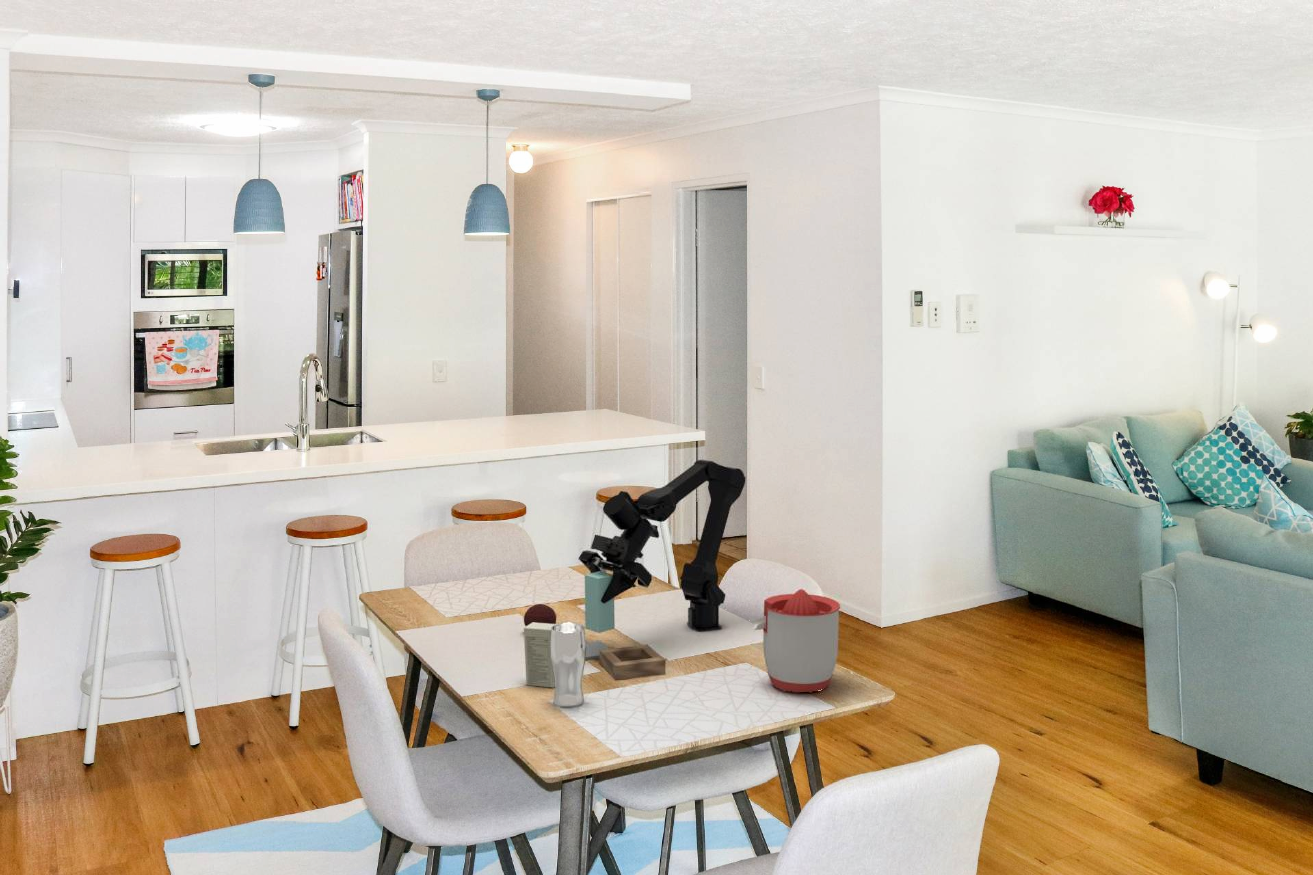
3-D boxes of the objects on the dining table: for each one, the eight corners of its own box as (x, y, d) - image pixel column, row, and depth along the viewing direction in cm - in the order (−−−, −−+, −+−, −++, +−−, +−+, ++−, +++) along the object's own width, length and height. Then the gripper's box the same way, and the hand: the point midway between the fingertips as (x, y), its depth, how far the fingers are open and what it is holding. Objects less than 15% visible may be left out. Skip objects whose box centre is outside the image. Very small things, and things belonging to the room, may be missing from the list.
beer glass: (551, 696, 219) (550, 622, 217) (586, 694, 220) (585, 621, 218) (550, 708, 212) (549, 633, 210) (586, 707, 213) (586, 632, 211)
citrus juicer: (750, 671, 234) (751, 578, 231) (833, 671, 233) (835, 579, 231) (755, 697, 218) (756, 599, 216) (843, 698, 218) (845, 599, 215)
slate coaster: (600, 642, 253) (600, 640, 253) (614, 656, 243) (614, 653, 243) (558, 647, 249) (558, 645, 249) (570, 661, 240) (570, 658, 240)
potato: (551, 639, 256) (551, 609, 255) (519, 637, 257) (519, 607, 256) (560, 629, 263) (560, 600, 262) (529, 627, 264) (529, 599, 263)
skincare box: (561, 681, 228) (561, 623, 226) (553, 688, 223) (552, 629, 222) (533, 678, 230) (532, 620, 228) (524, 684, 226) (523, 626, 224)
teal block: (600, 624, 244) (600, 571, 242) (614, 628, 241) (614, 574, 239) (585, 628, 241) (584, 574, 239) (599, 632, 238) (598, 578, 236)
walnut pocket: (647, 657, 242) (647, 644, 242) (665, 673, 232) (665, 659, 232) (599, 663, 239) (599, 650, 238) (615, 679, 228) (615, 665, 228)
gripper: (584, 514, 247) (546, 571, 241) (641, 526, 234) (603, 587, 228) (610, 543, 254) (574, 599, 247) (668, 556, 240) (631, 616, 234)
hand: (594, 600), depth 239 cm, fingers closed on teal block, 4 cm apart
